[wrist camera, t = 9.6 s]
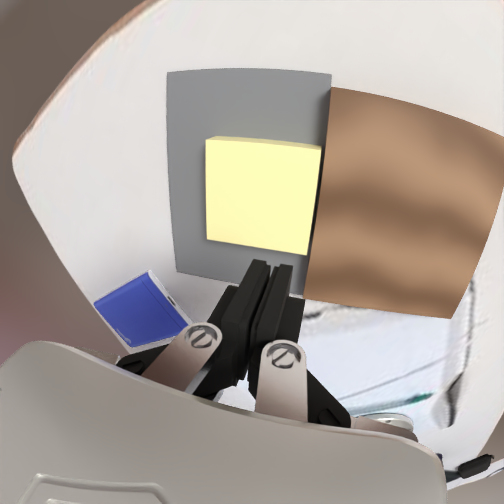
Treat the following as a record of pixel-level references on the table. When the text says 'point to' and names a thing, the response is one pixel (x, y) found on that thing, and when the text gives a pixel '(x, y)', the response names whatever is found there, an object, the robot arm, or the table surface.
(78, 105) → the table surface
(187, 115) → the mat
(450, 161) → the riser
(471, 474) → the carrying case or bag
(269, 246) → the sticky pad
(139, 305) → the hard drive
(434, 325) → the table surface
